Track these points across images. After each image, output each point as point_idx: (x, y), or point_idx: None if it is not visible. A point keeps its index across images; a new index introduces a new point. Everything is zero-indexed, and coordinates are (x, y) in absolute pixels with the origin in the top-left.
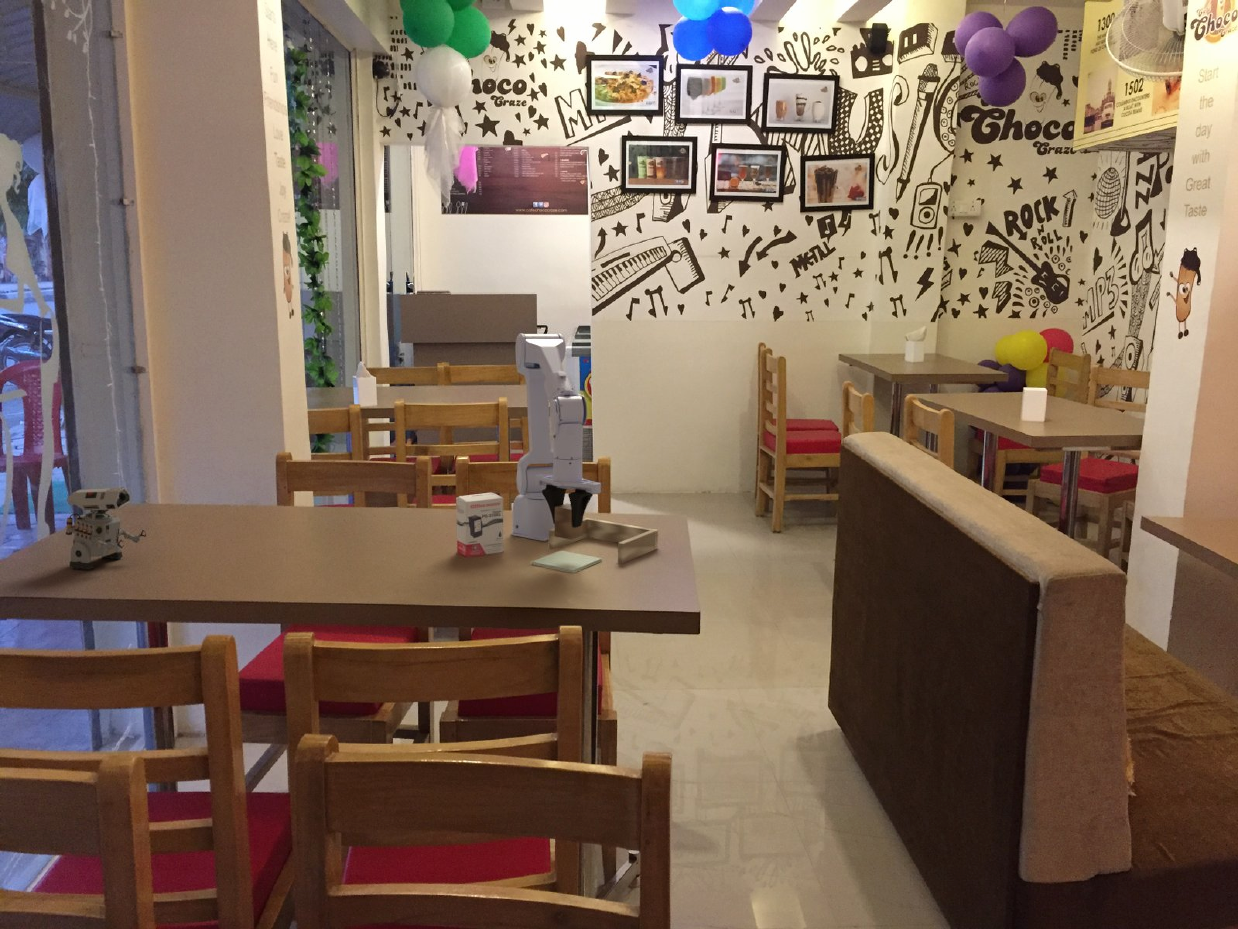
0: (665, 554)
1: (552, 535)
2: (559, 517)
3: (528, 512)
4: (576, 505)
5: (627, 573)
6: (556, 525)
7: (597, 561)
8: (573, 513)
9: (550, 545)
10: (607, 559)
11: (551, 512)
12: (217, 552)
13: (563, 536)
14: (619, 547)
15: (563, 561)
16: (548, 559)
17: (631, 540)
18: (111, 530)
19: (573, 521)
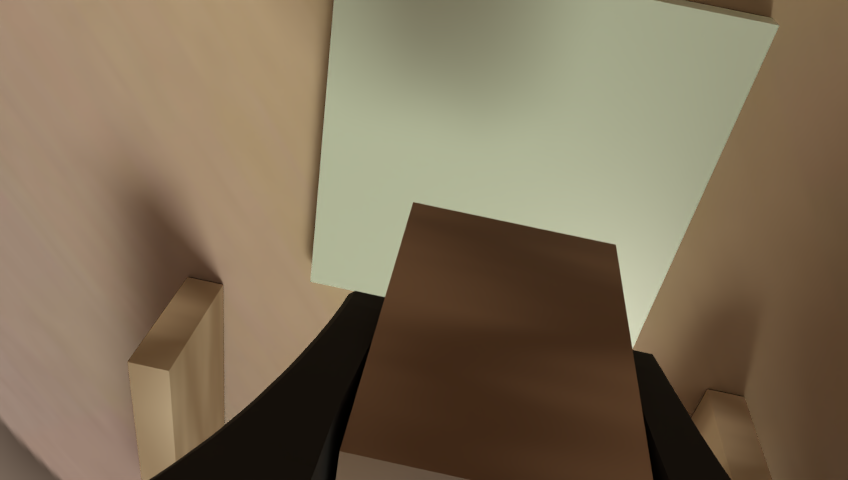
0: (113, 460)
1: (737, 467)
2: (562, 384)
3: None
4: (177, 475)
5: (33, 99)
6: (600, 315)
7: (317, 238)
8: (311, 396)
9: (736, 412)
10: (308, 315)
11: (705, 453)
12: None
13: (504, 231)
14: (172, 346)
15: (515, 130)
16: (649, 134)
17: (136, 435)
18: None
19: (349, 329)
